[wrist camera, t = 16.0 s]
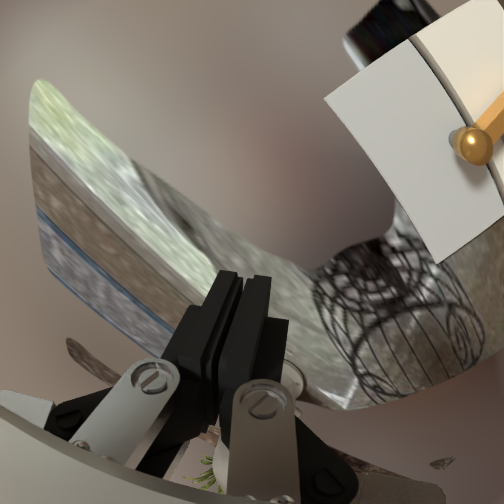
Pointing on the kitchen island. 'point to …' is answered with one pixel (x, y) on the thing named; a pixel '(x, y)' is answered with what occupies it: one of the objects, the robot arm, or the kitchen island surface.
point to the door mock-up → (433, 123)
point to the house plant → (210, 473)
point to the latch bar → (481, 135)
